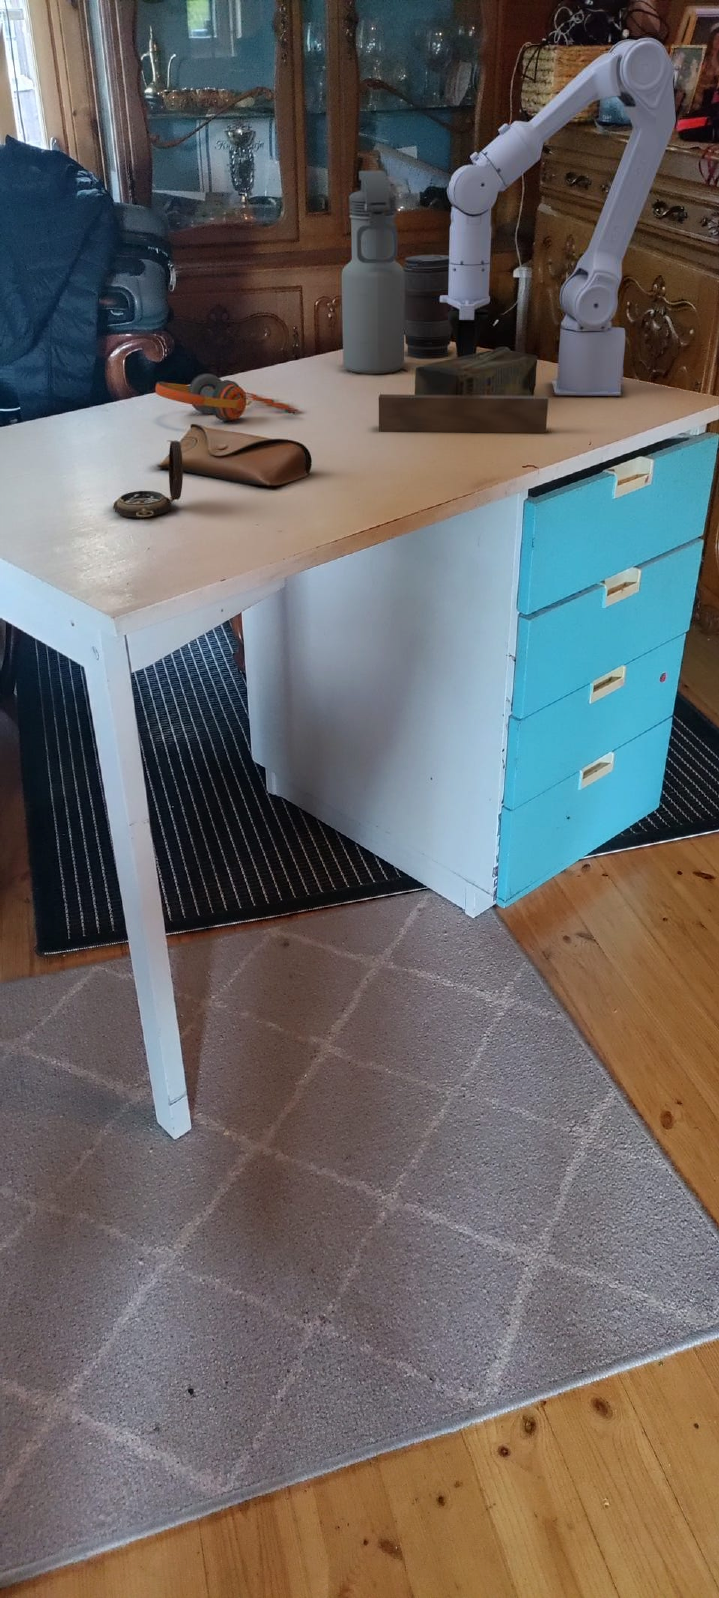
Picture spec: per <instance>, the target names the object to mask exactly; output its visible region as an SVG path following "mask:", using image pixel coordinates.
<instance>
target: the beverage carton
mask: <svg viewBox="0 0 719 1598" xmlns="http://www.w3.org/2000/svg"><path fill="white" fill-rule="evenodd" d="M537 367H538V356H537V355H535V354H530V353H525V352H518V351H513V350H510V348H509V347H507V346H500V347H497V348H495V349H492V350H490V349H489V350H487V351H482V352H481V351H480V352H476V354H471V355H467V356H462V357H457V356H456V357H452V358H450V359H445V360H441V361H440V360H439V361H434V362H431V363H427V364H423V365H420V366H416V367H415V375H414V395H501V396H535V389H536V385H537Z"/></svg>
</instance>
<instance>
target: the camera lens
mask: <svg viewBox="0 0 719 1598" xmlns="http://www.w3.org/2000/svg"><path fill="white" fill-rule="evenodd" d="M403 270H404V275H405V300H404V344H406V346H407V354H408V356H411V357H414V358H423V359H434V358H441V357H445V356H447V355H448V349H449V345H450V344H451V340H452V339H451V338H452V333H453V330H452V327H451V324H450V322H449V320H448V312H450V311H454V306H452V305H450V304H448V303H443V302H440V296H441V295H448V284H449V255H447V254H446V255H445V254H422V255H421V254H420V255H419V254H418V255H412V256H408V257H405V259H404V267H403Z"/></svg>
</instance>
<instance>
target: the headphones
mask: <svg viewBox="0 0 719 1598" xmlns="http://www.w3.org/2000/svg"><path fill="white" fill-rule="evenodd" d="M155 394H156V395H158V396H159V397H162V398H164V399H167V400H171V401H175V402H179V403H183V404H187V405H191V406H192V407H193V408H194V409H195V410H196V411H197V412H199V413H201V414H204V415H212V414H213V415H214V416H215V418H217V419H218V420H220V421H224V422H230V421H233V420H237V419H239V418H240V417H241V416H243V414H244V412H245V410H246V407H247V406H249V405H251V404H252V402H253V401H255V402H262V403H264V404H265V406H267V407H274V408H277V409H278V408H279V409H283V411H284V412H285V413H288V414H293V415H295V414H296V413H295V412H298V411H299V409H298V408H294V407H290V405H288V404H286V403H283V402H278V401H277V402H276V401H274V399H272V398H266V397H258V396H257V394H256V393H251V392H247V391H245V390H244V389H243V387H241V386H240V385H239V384H238V383H237V382H236V381H233V380H229V379H225V380H222V379H221V378H220V377H218V376H217V375H215V374H213V373H212V374H211V373H202V374H199V375H197V376H196V377H194V378H193V379H192V381H190V384H189V385H188V384H183V383H182V384H180V383H171V382H167V381H157V382H156V384H155ZM247 395H249V396H250V397H247ZM250 398H251V399H250ZM247 400H248V401H247Z"/></svg>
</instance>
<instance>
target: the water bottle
mask: <svg viewBox="0 0 719 1598" xmlns="http://www.w3.org/2000/svg"><path fill="white" fill-rule="evenodd" d="M358 181H361V182H360V190H358V191H355V192H353V193H351V194H350V195H349V196H348V202H349V203H348V204H349V205H348V206H349V208H348V209H349V211H348V212H349V218H350V229H351V260H350V261H349V262H348V263H347V264H346V265H344V267H343V268H342V272H341V312H342V313H341V317H342V318H341V319H342V322H341V323H342V363H343V367H344V368H345V369H346V370H347V371H349V372H351V373H355V374H362V375H383V374H384V375H385V374H390V373H394V372H398V371H399V370H401V369H402V368H403V367H404V365H405V332H404V321H405V275H404V267H403V266H402V265H401V264H400V263H399V262H397V261H396V259H397V258H398V254H399V249H398V248H399V233H398V232H399V231H398V229H397V227H396V226H395V218H396V217H397V214H396V213H395V212H396V211H397V209H396V206H397V205H396V202H397V201H396V200H397V196H396V194H395V193H393V192H392V191H390V190H389V180H388V177H387V172H385V171H383V170H378V169H377V170H375V169H374V170H371V169H370V170H359V171H358Z"/></svg>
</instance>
